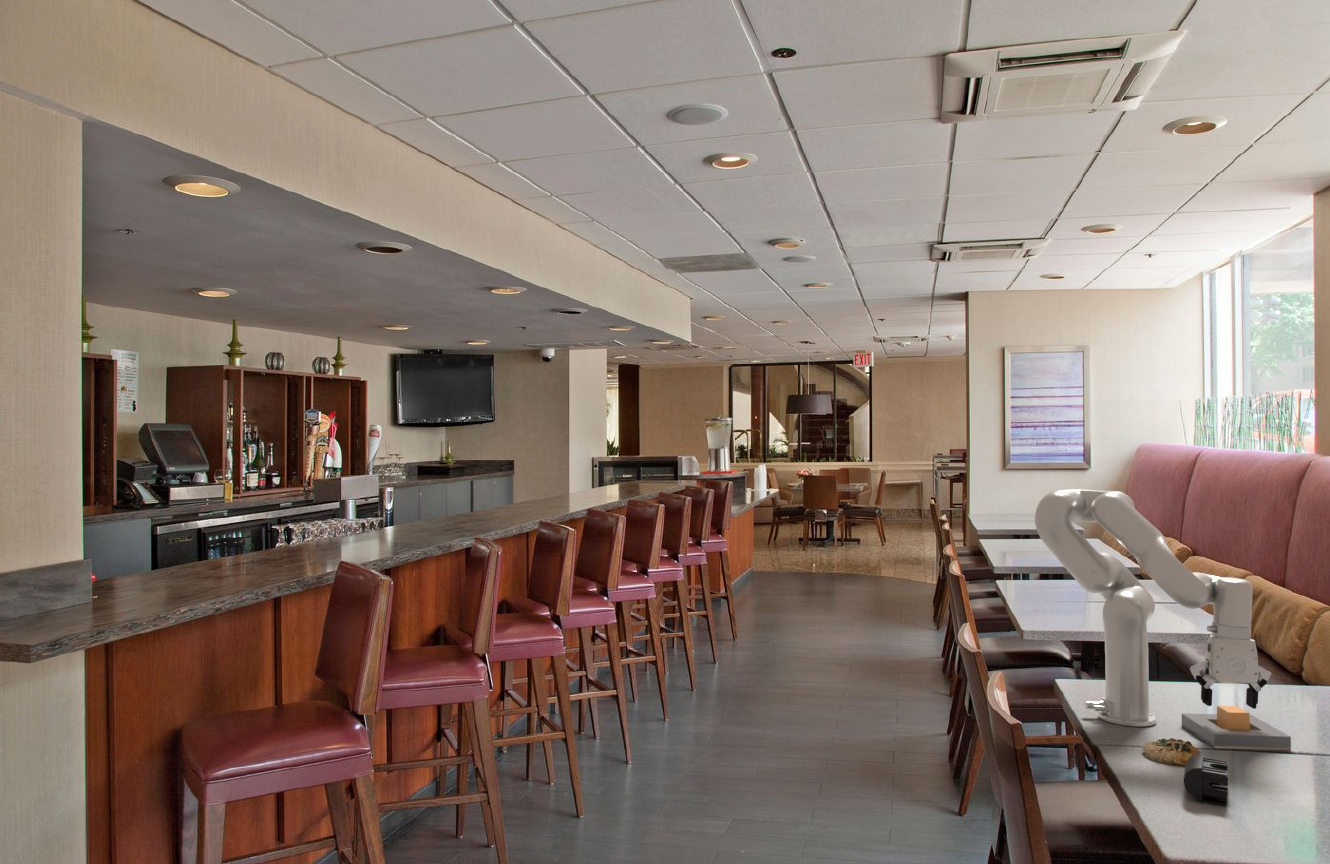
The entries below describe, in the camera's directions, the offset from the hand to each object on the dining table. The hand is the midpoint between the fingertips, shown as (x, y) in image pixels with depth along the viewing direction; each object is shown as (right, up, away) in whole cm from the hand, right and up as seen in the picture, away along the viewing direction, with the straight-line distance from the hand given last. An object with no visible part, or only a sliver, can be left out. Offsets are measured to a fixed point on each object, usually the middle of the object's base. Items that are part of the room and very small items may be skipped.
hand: (1229, 705), depth 212 cm
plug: (+1, -7, -1) cm, 7 cm away
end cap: (-26, -7, -35) cm, 44 cm away
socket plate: (+1, -7, -1) cm, 7 cm away
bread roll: (-21, -8, -14) cm, 26 cm away
